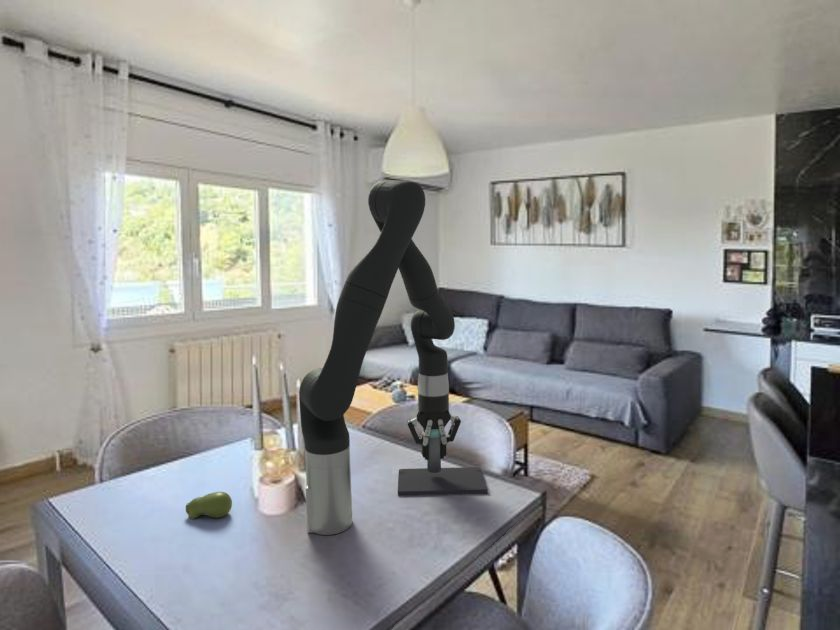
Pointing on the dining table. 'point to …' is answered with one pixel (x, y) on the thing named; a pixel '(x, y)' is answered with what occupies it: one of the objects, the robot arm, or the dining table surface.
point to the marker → (434, 451)
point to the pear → (210, 505)
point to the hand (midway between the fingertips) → (434, 457)
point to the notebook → (441, 481)
